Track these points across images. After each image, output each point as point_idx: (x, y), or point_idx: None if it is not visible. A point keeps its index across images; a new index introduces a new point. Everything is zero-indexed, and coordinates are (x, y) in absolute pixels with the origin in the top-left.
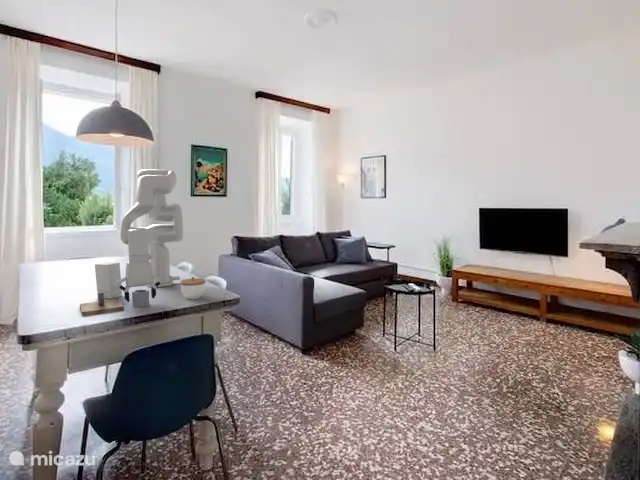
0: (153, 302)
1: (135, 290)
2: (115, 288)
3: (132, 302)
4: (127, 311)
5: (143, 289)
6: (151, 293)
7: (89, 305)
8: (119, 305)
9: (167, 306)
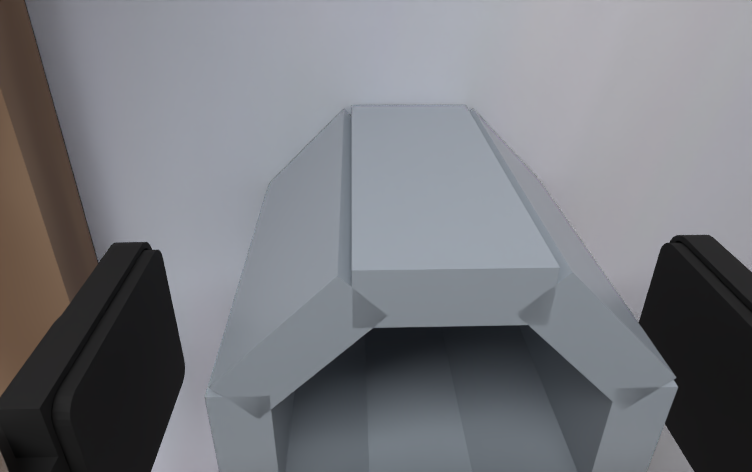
0: (651, 152)
1: (323, 315)
2: None
3: (257, 223)
4: (181, 443)
5: (592, 302)
6: (707, 306)
7: None
8: (25, 336)
9: (677, 459)
